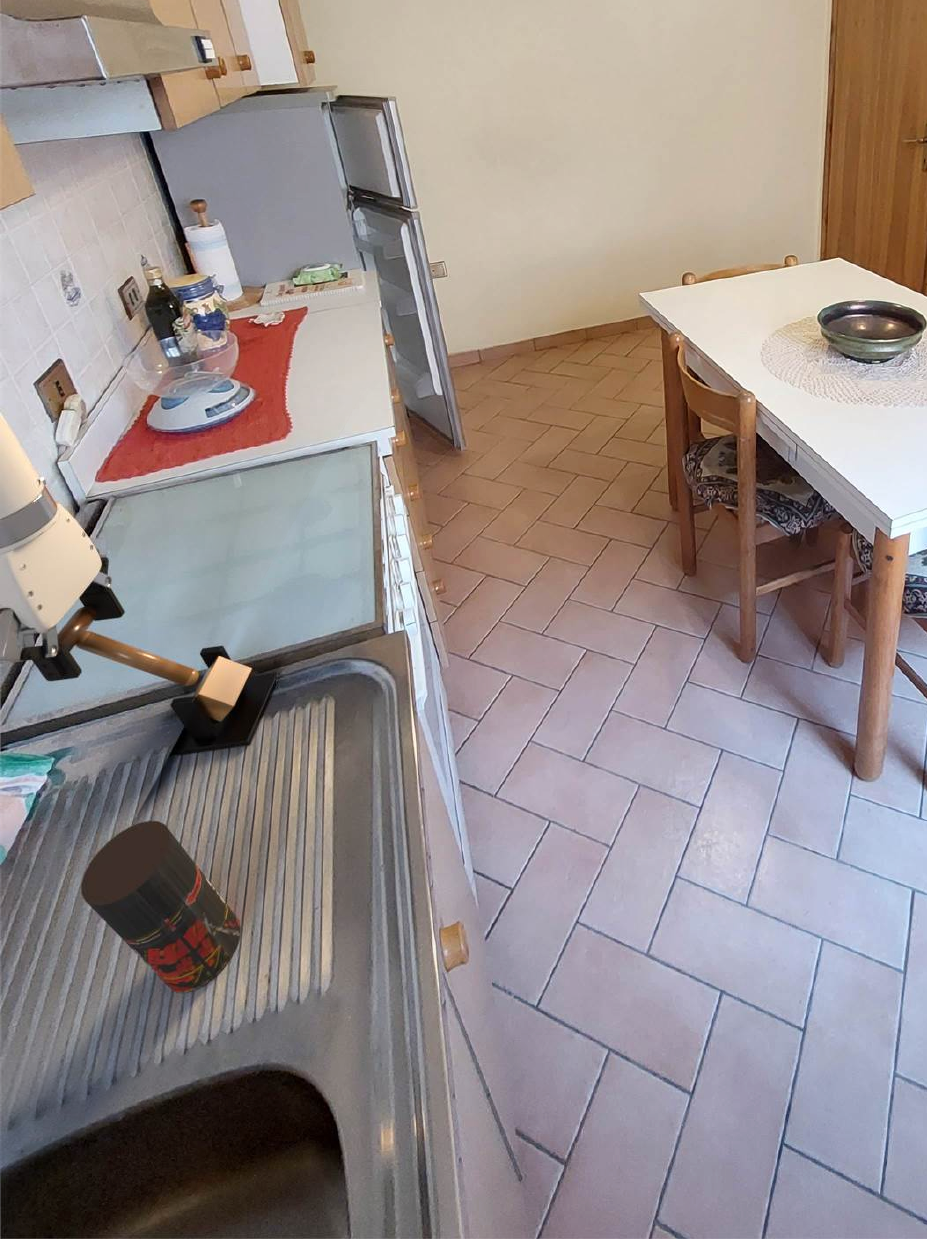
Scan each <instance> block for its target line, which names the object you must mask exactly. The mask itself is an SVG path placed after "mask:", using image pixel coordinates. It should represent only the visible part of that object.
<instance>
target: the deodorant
mask: <svg viewBox="0 0 927 1239" xmlns="http://www.w3.org/2000/svg"><path fill="white" fill-rule="evenodd" d="M80 891H81V892H80V894H81V896H82V898H83V900H84V902H85V903H86V904H88V906H90V907H91V908H92V909H93V910H94V911H95V913H96V914H97V915H98V916H99V917H100V918H101V919H102V920H103V921H104V922H105V923H106V924H107V925H108V926H109V927H110V928H111V929H112V930H113V931H114V932H115V933H116V935H118V937H119V938H121V940H122V941H123V942H125V944H126V945H127V946H128V947H129V948H130V949H131V950H132V951H133V952H134V953H135V954H136V955H137V956H138V957H139V958H140V959H141V960H142V961H143V962H144V963H145V965H147V966H148V967H149V969H150V970H151V971H153V972H154V974H155V975H157V977H159V978H160V980H161V981H162V982H163V983H164V984H165V985H166V986H167V987H168V988H169V989H170V990H172V991H173V992H175V993H178V994H179V993H180V994H187V993H193V992H195V991H197V990H199V989H202V988H203V987H205V986H207V985H208V984H209V983H210V982H212V981H213V980H215V979H216V978H217V977H218V976H219V975H220V974H221V972H223V971H224V969H225V968H226V967H227V966H228V964H229V963H230V961H231V960H232V959H233V956H234V954H235V952H236V951H237V948H238V946H239V942H240V939H241V929H242V926H241V923H240V920H239V918H238V917H237V916H236V914H235V913H234V912H233V910H232V909H231V908H230V906H229V905H228V904H227V902H226V901H225V900H224V898H223V897H222V896H221V895H220V893H219V892H218V891H217V889H216V888H215V887H214V886H213V885H212V883H211V882H210V881H209V879H208V878H207V877H206V875H205V874H204V873H203V872H202V870H201V869H200V868H199V866H198V865H197V863H196V862H195V861H194V860H193V859H192V858H191V856H190V855H189V853H187V851H186V850H185V848H184V846H183V845H181V844H180V842H179V840H178V839H177V838H176V836H174V834H173V833H172V831H171V830H170V829H169V827H168V826H167V825H166V824H165V823H164V822H161V821H158V820H146V821H141V822H138V823H136V824H134V825H131V826H128V827H127V828H126V829H125V828H124V830H122V831H121V832H118V833H117V834H116V835H115V836H113V837H112V838H111V839H110V840H109V841H108V842H106V843H105V844H104V845H103V846H102V847H101V848H100V850H99V851H98V852H97V853H96V854H95V856H94V857H93V858H92V859H91V861H90V862H89V864H88V866H87V868H86V870H85V872H84V874H83V877H82V880H81V884H80Z"/></svg>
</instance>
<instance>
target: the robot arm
mask: <svg viewBox="0 0 927 1239" xmlns="http://www.w3.org/2000/svg"><path fill="white" fill-rule="evenodd" d="M46 485H47V481H46V479H45V478H44V477H42V476H40V475H39V474H38V472H37V470H36V469H35V467H34V465H33V463H32V462H31V461H30V458H29V457H28V455H27V453H26V452H25V450H24V448H23V446H22V445H21V443H20V442H19V440H18V438H17V437H16V435H15V433H14V432H13V430H12V428H11V427H10V424H9V423H8V422H7V420H6V419H5V417H4V415H3V414H2V412H1V411H0V663H18V662H26V661H32V663H33V664H34V665H35V667H36V668H37V669H38V671H39V672H40V674H41V675H42V677H43V679H45V681H47V682H59V681H65V680H72V679H78V678H79V677H80V676H81V674H82V672H83V671H82V668H81V667H80V665H79V664H78V662H77V661H76V659H75V658H74V656H73V655H72V653H71V651H70V652H69V650H68V649H67V648H66V647H58V638H57V634H58V630H57V624H58V623H59V622H60V621H61V620H62V619H63V618H64V616H66V614H67V613H68V612H69V610H71V608H72V607H73V606H74V604H75V603H76V602H77V601H78V600H79V601H80V602H81V604H82V605H83V607H85V606H91V607H93V608H94V609H95V610H96V612H97V616H96V618H95V620H94V621H93V622H99V621H108V620H114V619H120V618H122V617H123V616H124V614H125V613H126V611H125V609H124V607H123V606H122V604H121V603H120V601H119V599H118V598H117V596H116V594H115V592H114V591H113V588H112V587H110V586H111V585H112V584H113V579H112V577H111V576H110V575H109V564H110V559H109V558H108V557H107V556H108V542H109V541H108V538H106V537H94V538H90V536H88V534H87V533H86V532H85V529H83V527H82V526H81V525H80V524H79V522H78V521H77V520H76V519H75V517H74V516H73V515H72V514H71V513H70V512H69V511H68V510H67V509H66V508H65V507H64V506H63V505H62V504H61V503H60V502H58V501H56V500H54V498H53V496H52V494H51V493H50V491H49V489H48V488H47V487H46ZM37 634H41V643H42V645H36V642H35V635H37Z"/></svg>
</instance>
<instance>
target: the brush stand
mask: <svg viewBox="0 0 927 1239" xmlns="http://www.w3.org/2000/svg"><path fill="white" fill-rule="evenodd" d="M199 656H200V657H201V659H202V660H203V662H204V664H205V665H206V667H207V670H208V669H209V668H210V666H211V665H212V664H213V663H214V661H215V660H216V659H217V657H218V656H221V657H223V658H226V659H229V660H231V661H233V660H232V659H231V657H230V655H229V654H228V651H227V650H226V648H225V646H224V645H217V646H216V645H215V646H209V647H202V649H201V650H200V652H199ZM277 675H280V673H279V671H275V672H269V673H262V674H254V675H253V674H252V675H249V676H248V678H247V680H246V682H245V685H244V687H243V689H242V691H241V693H240V695H239V697H238V699H237V701H236V703H235V705H234V707H233V708H232V709H231V711H230V712H229V713H228V714H227V715H226V717H225V718H224V719H223V720H222V721H218V723H217V724H214V723H213V722H212V721H211V719H210V718H209V716H208V714H207V713H206V711H205V710H204V708H203V707H202V705H201V703H200V702H199V700H198V699H197V697H196V696H193V695H191V696H183V697H179V698H173V700H172V702H170V704H169V706H170V707H171V709H172V710H173V712H174V713H175V715H176V716H177V719H179V722H181V724H182V725H183V728H182V730H181V732H180V734H179V736H178V738H177V740H176V741H175V743H174V745H173V747H172V748H171V751H170V752H169V754H168V757H169V758H170V757H177V756H185V755H191V754H199V753H205V752H211V751H218V750H220V751H221V750H225V749H232V748H240V747H247V746H250V745H251V744H252V742H253V740H254V738H255V734H256V732H257V730H258V728H259V726H260V723H261V721H262V720H263V716H264V714H265V712H266V710H267V707H268V706H269V702H270V700H271V698H272V696H273V694H274V691H275V689H276V686H277V684H276V679H277Z"/></svg>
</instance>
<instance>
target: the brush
mask: <svg viewBox="0 0 927 1239" xmlns="http://www.w3.org/2000/svg"><path fill="white" fill-rule="evenodd" d="M96 616H97V612H96V610H95V609H94V608H93V607H91V606H85V607H84V606H81V607H80V608H78V609H77V610H76V611H75V612H74V613H73V615H72V616H71V617H70V618H69V619H68V620H67V622H66V623H65V624H64V626H63V627H62V628H61V629H60V631H58V632H57V638H58V647H66V648H67V649H68V650H69V652H70V653H71V652H72V650H73V649H74V647H76V648H77V649H80V650H82V651H85V652H88V653H90V654H94V655H97V656H99V657H102V658H105V659H108V660H111V661H113V662H115V663H118V664H119V663H120V664H122V665H125V666H128V667H130V668H133V669H136V670H139V671H142V672H144V673H147V674H150V675H153V676H155V677H159V678H161V679H164V680H167V681H170V682H173V683H175V684H179V685H181V686H184V687H190V686H193V685H194V684H196V683H197V681H198V680H199V676H200V675H199V674H200V673H199V672H198V670H197V669H196V668H193V667H191V666H188V665H184V664H182V663H179V662H176V661H173V660H171V659H168V658H165V657H163V656H160V655H157V654H155V653H151V652H150V651H146V650H143V649H141V648H139V647H135V646H133V645H129V644H127V643H124V642H122V641H119V640H115V639H113V638H111V637H108V636H106V635H102V634H100V633H97V632H94V631H91V630H88V629H89V628H90V626H91V625H92V624H93V622H95V621H94V620H95V618H96ZM231 660H232V659H231ZM231 660H229V659H226V658H223V657H221V656H218V657H217V659H216V660H215V661H214V663H213V664H212V665H211V666H210V668H209V669H208V668H207V670H206V672H205V673H204V675H203V677H202V679H201V681H200V682H199V684H198V686H197V688H196V689H195V692H194V693H193V695H192V696H196V697H197V699H198V700H199V702H200V703H201V705H202V707H203V708H204V710H205V711H206V713H207V714H208V716H209V718H210V719H211V721H212V722H213V723H214V724H217V723H218V721H222V720H223V719H224V718H225V717H226V715H227V714H228V713H229V712H230V711H231V709H232V708H233V707H234V705H235V703H236V701H237V699H238V697H239V695H240V693H241V691H242V689H243V687H244V685H245V682H246V680H247V678H248V676H250V674H251V672H252V670H253V668H252V667H250V666H248V665H244V664H242V663H239V662H236V661H233V660H232V661H231Z"/></svg>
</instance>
